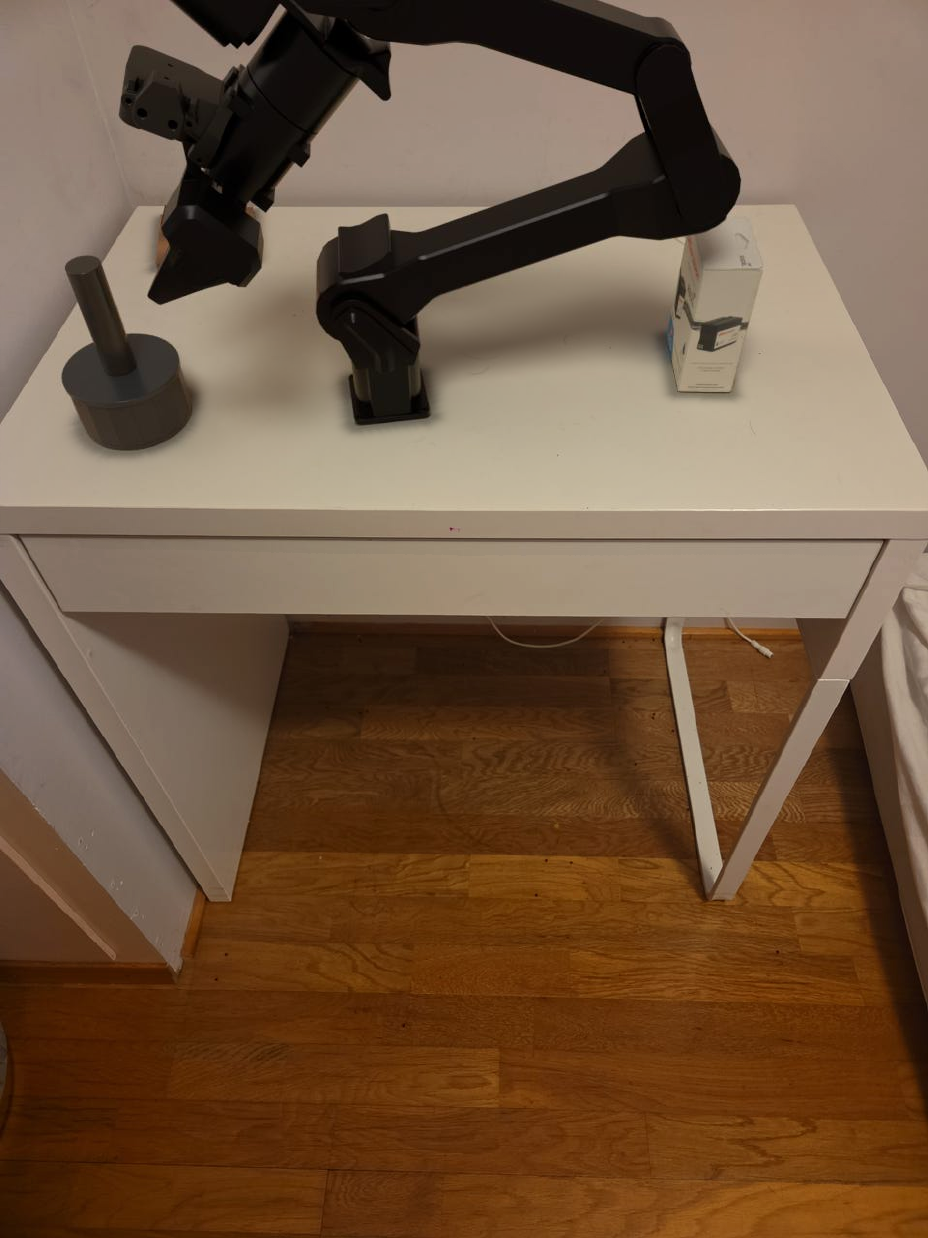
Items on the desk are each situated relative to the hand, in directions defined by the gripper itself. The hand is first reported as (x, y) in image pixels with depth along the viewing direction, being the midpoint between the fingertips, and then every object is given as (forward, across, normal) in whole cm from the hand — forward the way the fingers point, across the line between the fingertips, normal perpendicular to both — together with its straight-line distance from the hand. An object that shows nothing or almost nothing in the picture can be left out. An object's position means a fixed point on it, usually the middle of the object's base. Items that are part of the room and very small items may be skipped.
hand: (160, 265), depth 67 cm
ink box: (-21, -2, +41) cm, 46 cm away
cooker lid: (+10, 0, +2) cm, 11 cm away
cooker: (+14, 0, +6) cm, 15 cm away
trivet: (+11, -29, +8) cm, 32 cm away
